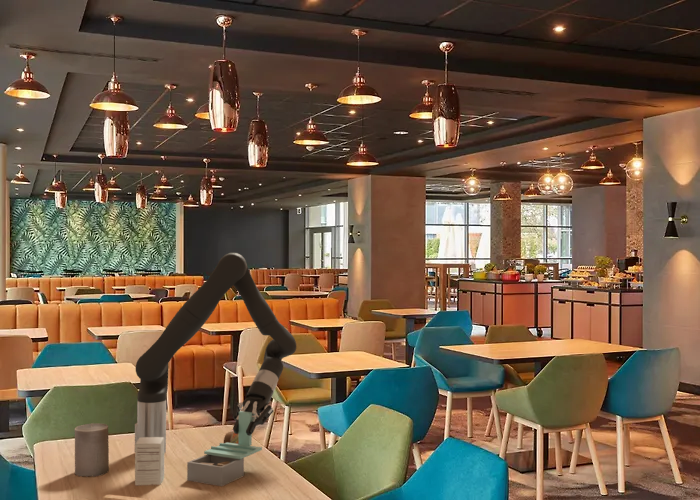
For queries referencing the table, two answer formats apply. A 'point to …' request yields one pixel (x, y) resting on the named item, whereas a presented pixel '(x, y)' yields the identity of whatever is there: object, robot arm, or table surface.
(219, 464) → the walnut block
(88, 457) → the pillar candle
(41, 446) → the table surface
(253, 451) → the lid
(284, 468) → the table surface
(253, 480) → the table surface
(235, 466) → the tub
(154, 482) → the supplement box
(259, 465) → the table surface
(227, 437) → the tin
